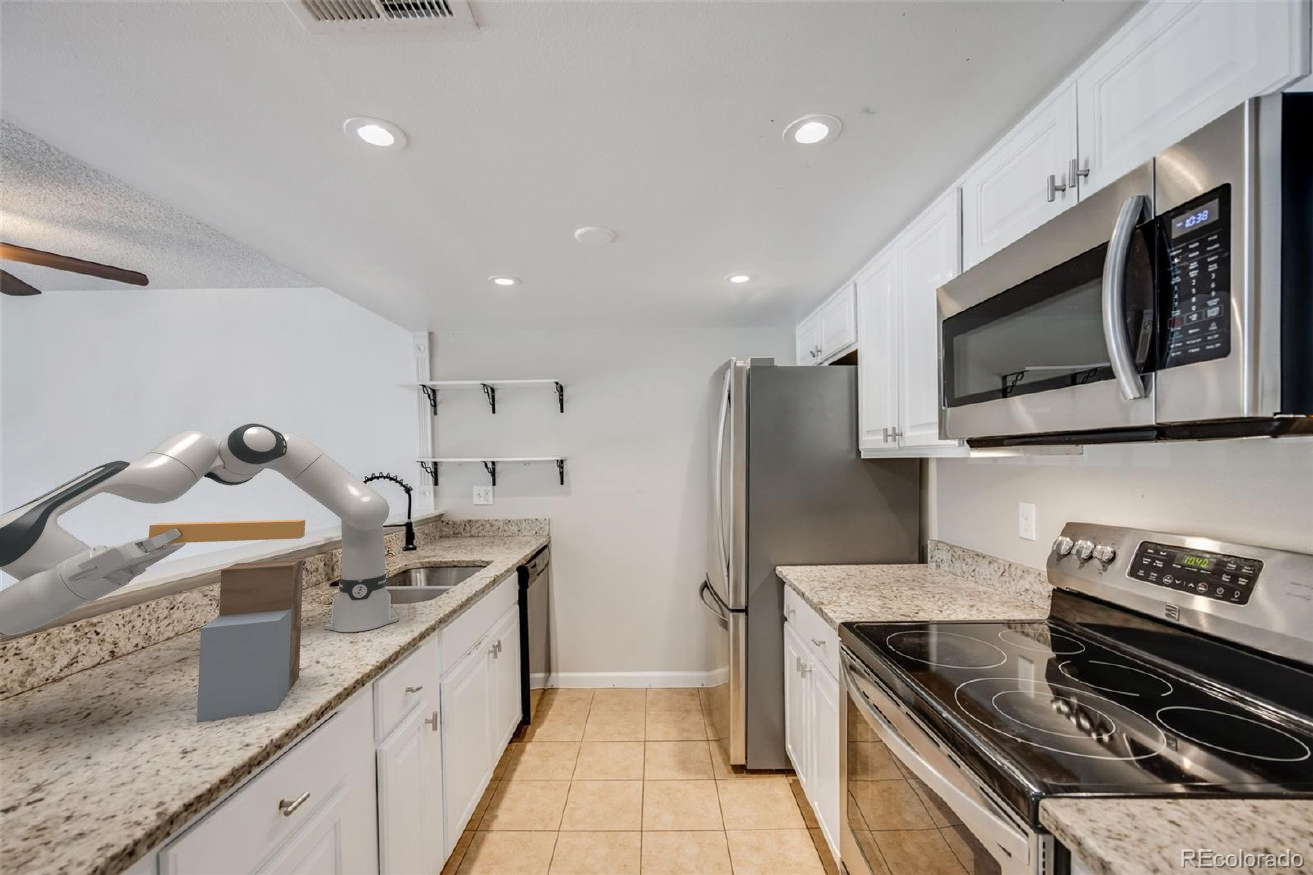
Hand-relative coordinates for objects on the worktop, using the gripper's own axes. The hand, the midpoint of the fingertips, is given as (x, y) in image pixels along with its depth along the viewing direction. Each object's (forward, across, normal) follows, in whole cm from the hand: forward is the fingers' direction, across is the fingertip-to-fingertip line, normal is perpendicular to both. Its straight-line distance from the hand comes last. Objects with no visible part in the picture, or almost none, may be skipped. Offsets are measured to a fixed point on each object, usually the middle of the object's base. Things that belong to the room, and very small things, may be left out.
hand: (185, 530), depth 98 cm
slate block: (-7, -3, +36) cm, 36 cm away
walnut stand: (-7, +5, +36) cm, 37 cm away
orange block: (+5, 0, +6) cm, 8 cm away
